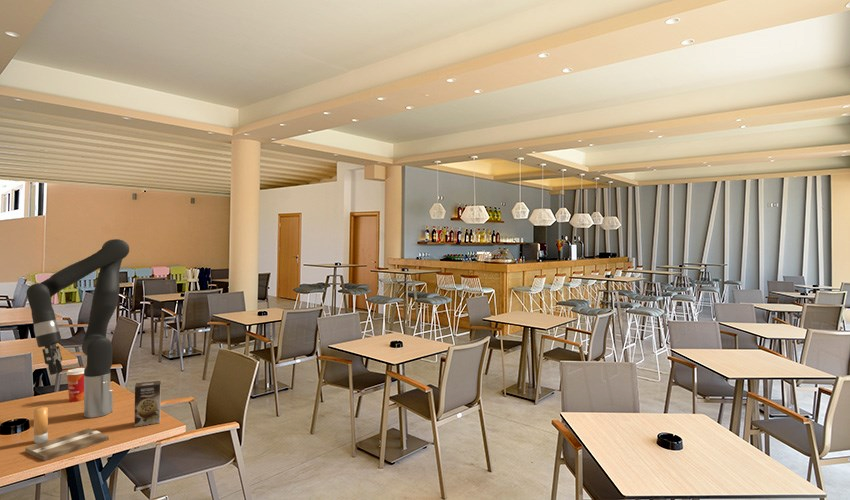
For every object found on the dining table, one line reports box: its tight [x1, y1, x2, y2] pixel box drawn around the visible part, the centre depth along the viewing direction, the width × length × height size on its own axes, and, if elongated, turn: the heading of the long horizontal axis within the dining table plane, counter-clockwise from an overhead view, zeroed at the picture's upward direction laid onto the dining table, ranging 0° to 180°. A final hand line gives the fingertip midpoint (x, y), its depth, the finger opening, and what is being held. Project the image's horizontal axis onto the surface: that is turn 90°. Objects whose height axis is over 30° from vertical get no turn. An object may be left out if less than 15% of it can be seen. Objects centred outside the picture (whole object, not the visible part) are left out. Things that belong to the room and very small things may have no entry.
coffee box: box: [133, 380, 162, 428], centre depth 192 cm, size 9×6×16 cm
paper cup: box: [66, 367, 86, 403], centre depth 220 cm, size 8×8×14 cm
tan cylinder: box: [33, 406, 49, 444], centre depth 174 cm, size 4×4×12 cm
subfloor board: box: [24, 427, 109, 462], centre depth 170 cm, size 20×14×2 cm
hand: (56, 373), depth 187 cm, fingers open, 8 cm apart
